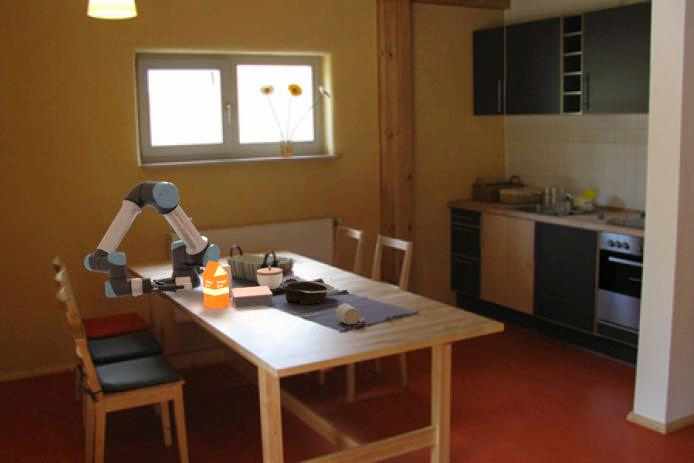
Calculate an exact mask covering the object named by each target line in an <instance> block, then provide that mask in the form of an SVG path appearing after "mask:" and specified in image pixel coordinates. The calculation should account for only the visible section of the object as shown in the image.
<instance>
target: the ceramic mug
mask: <svg viewBox="0 0 694 463" xmlns="http://www.w3.org/2000/svg"><path fill="white" fill-rule="evenodd" d="M335 317H336V319H337V320H338V321H340V322H342V323H343V324H345V325H347V324H348V326H352V325H351V324H354V325H356V324H357V323H358V322H361V323H363V322H364V320H365V318H364V317H362V316H360V312H359V311H358V309H357V308H356V307H354V306H352V305H351V304H349V303H346V302H345V303H341V304H339V305H338V307H337V308H336V311H335ZM362 321H363V322H362Z"/></svg>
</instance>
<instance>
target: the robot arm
mask: <svg viewBox="0 0 694 463" xmlns="http://www.w3.org/2000/svg"><path fill="white" fill-rule="evenodd" d="M179 195H180V191H179V189H178V188H177V186H176V185H175V184H174V183H171V182H167V181H149V180H146V181H141V182H139V183H137V184H136V185H135V186H134V187H132V189H130V190H129V191H128V192H127V194H126V195H125V197H124V198H123V201H122V206H121V208H120V209H119V211H118V212H117V215H116V216H115V218H114V219H113V221H112V222H111V224H110V225H109V227H108V229H107V231H106V232H105V234H104V236H103V238H102V239H101V241H100V242H99V244H98V246H97V247H96V249H95V251H94V252H93V253H89V254H88V255H86V256H85V257H84V261H83V264H84V267H85V269H86V270H88V271H91V272H95V273H104V274H108V277H109V279H108V280H105V282H104V289H105V291H104V292H105V296H106V297H107V298H121V297H133V296H134V297H136V298H137V297H138V296H142V295H144V296H147V295H149V296H150V295H152V292H155V293H156V292H164V293H166V292H170V293H171V292H172V293H177V291H187V290H189V291H190V290H192V289H193V288H196V287H199V286H201V283H202V282H201V277H200V276H199V274H198V273H197V270H196V267H200V268H204V269H205V268H206V266H207V264H208V262H209V261H212V262H217V263H219V262H220V258H221V257H220V255H221V250H220V247H219V246H218V245H217V244H214V243H212V244H211V242H210V240H208V238H207V237H206V236H202V235H201V234H200V233H199V231H198V230H197V228H196V227H195V225H194V224H193V222H192V223H191V221H190V220H189V218H190V217H188V215H187V214H186V213H185V211H184V210H183V209H182V207H181V206H180V202H181V201H180V196H179ZM147 207H149V208H150V207H151V208H153V209H154V211H155V212H156V213H157V214H158V215H159V216H164V218H165V219H166V221H167V222H168V223H169V225H170V226H171V227H172V229H173V230H174V232H175V233H176V235H177V236H178V237H179V239H180V240H176V241H173V242H172V243H171V246H170V247H171V248H170V252H171V263H172V264H171V265H172V271H171V272H172V273H171V277H165V278H160V279H153V280H151V279H152V278H151V277H142V278H141V277H136V278H134V277H133V278H128V268H127V267H128V266H127V258H126V254H125V252H123V251H117V249H118V247H119V245H120V244H121V242H122V240H123V238H124V237H125V235H126V234H127V232H128V230H129V229H130V227H131V225H132V223H133V222H134V220H135V219H136V217H137V215H139V214H141V213H142V211H143V210H144V209H145V208H147ZM152 290H153V291H152Z"/></svg>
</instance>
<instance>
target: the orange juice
mask: <svg viewBox="0 0 694 463" xmlns="http://www.w3.org/2000/svg"><path fill="white" fill-rule="evenodd" d="M201 275H202V283H203V284H202V287H203V289H202V290H203V291H202V292H203V300H204V301H203V303H204V304H203V306H204V305H205V307H209V308H211V307H212V309H216V308H217V309H219V308H223V307H228V306H230V297H229V288H228V274H227V273H226V271H225V270H224V269H223V267H222V266H221V264H220V262H218V263H217V262H212V261H209V262H208V264H207V266H206V268H204V270H203V272H202V274H201Z"/></svg>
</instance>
